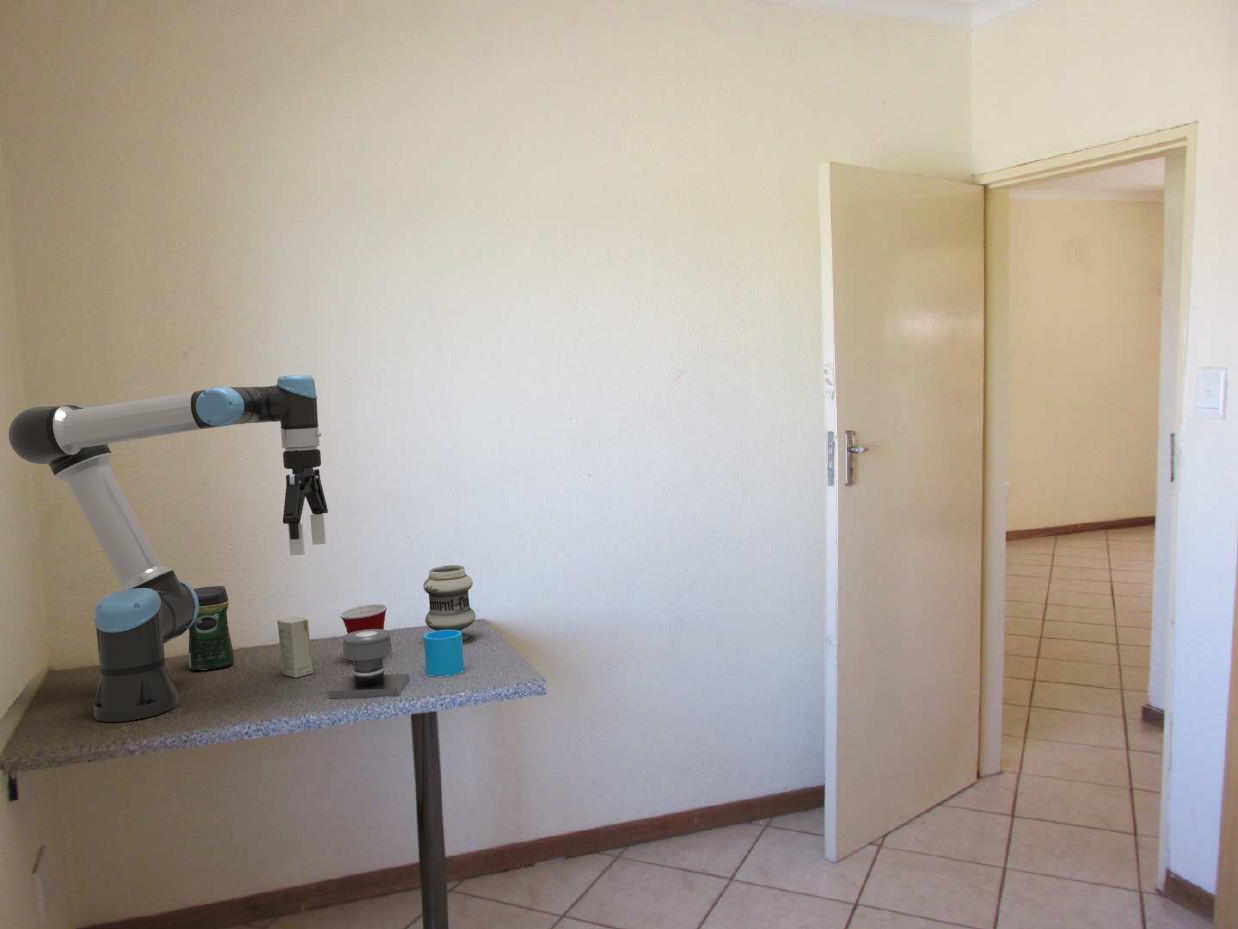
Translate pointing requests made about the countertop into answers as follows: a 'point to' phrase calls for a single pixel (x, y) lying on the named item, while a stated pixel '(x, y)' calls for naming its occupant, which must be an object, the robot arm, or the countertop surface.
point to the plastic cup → (364, 617)
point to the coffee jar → (210, 631)
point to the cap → (366, 644)
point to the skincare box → (295, 647)
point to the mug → (443, 652)
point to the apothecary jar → (449, 599)
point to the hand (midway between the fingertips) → (308, 549)
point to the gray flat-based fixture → (368, 681)
